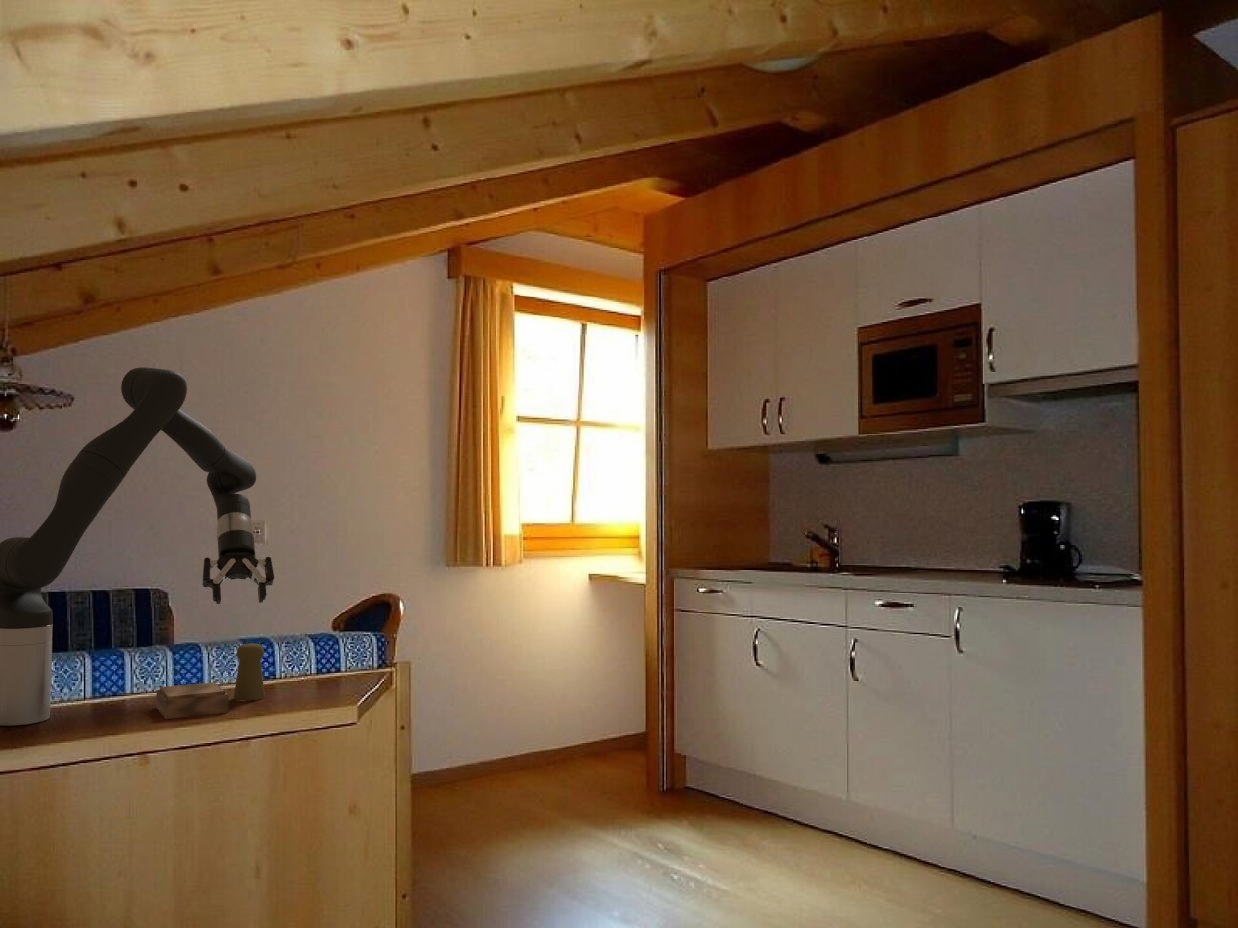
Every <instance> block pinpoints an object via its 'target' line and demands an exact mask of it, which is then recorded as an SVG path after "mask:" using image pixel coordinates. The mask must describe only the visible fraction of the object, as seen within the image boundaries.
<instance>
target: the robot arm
mask: <svg viewBox="0 0 1238 928" xmlns="http://www.w3.org/2000/svg"><path fill="white" fill-rule="evenodd" d="M120 384H121V385H120V390H121V395H122V398H123V400H124V401H125V403H126V404H127V405H128V406H129V407H130V408H131V409H133V411H132V412H131V413H130V414H129V415H128V416H127V417H125V418H124V419H122V421H120V422H119V423H117V424H116V425H114V426H112V427H111V428H109V429H108V430H106V431H104V432H102V433H100V434H99V435H98V436H96V437H95V438H93V439H92V440H90V441H89V442H88V443H86V444H85V445H84V446H83V447H82V449H81V450H80V451H79V452H78V453H77V454H76V456H75V458H74V459H73V460H72V461H71V463H70V464H69V465H68V466H67V468H66V470H65V471H64V473H63V475H62V477H61V480H60V484H59V488H58V492H57V496H56V500H55V503H54V506H53V508H52V510H51V512H50V513H49V514H48V517H46V519H45V520H44V521H43V522H42V523H41V525H40V526H39V528H37V530H36V531H35V532H33V534H32V535H31V536H29V537H24V536H20V537H19V536H16V537H15V536H14V537H9V538H7V539H4V540H2V541H1V542H0V726H6V727H7V726H22V725H31V724H35V723H41V722H44V721H46V720H49V719H50V717H51V698H52V697H51V696H52V694H51V692H52V690H51V688H52V661H53V660H52V659H53V657H52V655H53V627H54V626H53V620H54V619H53V618H54V617H53V616H54V613H53V609H52V608H51V607H50V606H49V605H48V604H47V603H46V602H45V600H44V599H43V596H42V588H45V587H47V586H49V585H50V584H52V583H53V582H54V581H55V580H56V579H57V578H59V576H60V574H61V573H62V572H63V571H64V569H65V567H66V565H67V563H69V560H70V558H71V556H72V554H73V553H74V551H75V549H76V547H77V546H78V544H79V542H80V540H81V538H82V537H83V536H84V534H85V532H86V531H87V529H88V528H89V526H90V525H91V524H92V523H93V521H94V520H95V518H96V517H97V516H98V514H99V512H100V511H101V510H102V508H103V507H104V505H105V504H106V503H107V502H108V500H109V498H111V496H112V495H113V494H114V493H115V491H116V490H117V488H118V487H119V486H120V484H121V483H122V482H123V480H124V479H125V478H126V476H127V475H128V472H129V471H130V470H131V468H132V467H133V465H134V464H135V463H136V461H138V459H139V457H141V455H142V454H143V453H144V451H145V450H146V448H147V447H148V446H149V445H150V443H151V442H152V441H153V439H154V438H155V437H156V436H157V435H158V434H159V432H161V431H162V432H163V433H164V434H166V436H168V437H169V438H170V439H171V440H172V441H173V442H174V443H176V444H177V446H179V448H180V449H182V450H183V451H184V452H185V453H186V455H188V457H189V458H190V459H191V460H192V461H193V462H194V463H195V465H197V466H198V468H199V469H201V470H202V472H206V473H207V476H206V484H207V487H208V489H209V491H210V493H211V495H212V498H213V501H214V504H215V507H216V515H217V527H216V540H217V553H218V558H217V559H211V558H210V557H205V558H204V559H203V565H202V587H203V588H211V590H212V600H213V602H215V604H216V605H220V604H221V601H222V591H221V585H222V584H223V583H224V582H225V581H226V580H227V579H229V580H237V579H240V580H246V579H249V581H250V582H251V583H254V584H255V585H256V586H257V596H258V597H257V598H258V603H259V604H260V603H261V604H262V603H263V601H265V600H266V597H267V595H268V594H267V586H272V585H273V583H274V580H275V573H274V567H273V562H272V558H271V557H270V556H266V557H265V558H262V559H259V558H257V557H256V549H255V548H256V547H255V537H254V536H255V535H254V526H253V523H252V512H251V503H250V501H249V500H250V499H249V498H248V497H246V496H245V495H244V494H239V492H242V491H246V490H248V489H250V488H252V487H253V486H254V485H255V483H256V480H257V472H256V470H255V467H254V466H253V464H251V463H250V462H249V461H248V460H247V459H246V458H244V457H242V456H241V455H239V454H238V453H236V452H234V451H233V450H231V449H229V448H227V447H226V446H225V445H224V444H223V443H222V442H221V440H219V438H218V437H217V436H216V435H215V434H214V433H213V431H211V430H210V429H209V428H207V427H206V426H205V425H204V424H202V423H201V422H200V421H197V420H196V419H194V418H193V417H192V416H190V415H189V414H187V413H185V412H184V411H183V410H181V408H182V406H183V404H184V402H185V400H186V397H187V395H188V387H187V386H188V385H187V381H186V378H185V377H184V376H183V375H182V374H181V373H179V372H177V371H175V370H172V369H171V370H169V369H162V368H155V367H146V366H145V367H134V368H132V369H130V370H129V371H127V373H126V374H124V376H123V378H122V381H121V383H120ZM258 566H260V568H261V569H262V570H264V574H265V577H264V576H263V575H262V574H261V572H260V571H259V570H258V569H257V567H258ZM215 567H216V568H217V569H218V570H219V573H218V574H217V576H215V578H214V579H213V578H211V571H213V570H214V568H215Z"/></svg>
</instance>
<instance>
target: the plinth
mask: <svg viewBox="0 0 1238 928" xmlns="http://www.w3.org/2000/svg"><path fill="white" fill-rule="evenodd" d="M155 694H156V695H155V696H156V698H155V699H156V701H155V702H156V703H155V708H156V709H157V710H159V711H158V712H159V713H160V714H161V715H162V717H163V718H164V719H166V720H168V719H169V720H170V719H177V718H187V717H188V718H189V717H197V716H205V715H206V716H207V715H208V716H209V715H215V714H217V715H218V714H226V713H229V702H230V701H229V696H230V695H229V693H228V692H226V690H225V689H224V688H222V687H221V686H220V685H219V684H217V683H216V682H215V681H213V682H202V683H195V684H194V683H193V684H180V685H171V686H170V685H169V686H160V687H159V689H156V693H155Z"/></svg>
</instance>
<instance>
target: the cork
mask: <svg viewBox="0 0 1238 928" xmlns="http://www.w3.org/2000/svg"><path fill="white" fill-rule="evenodd" d="M264 653H265V650H264V647H263V646H262V644H259V643H252V642H251V643H244V644H240V645H239V646H238V647H237V649H236V657H237V659H238V661H239V662H238V667H237V668H238V669H237V675H236V680H235V688H234V693H233V699H232V700H234V699H235V700H234V701H236V700H244V701H243V702H250V701H249V700H255V701H259V700H258V699H261V700H263V699H265V698H266V696H265V695H266V694H265V686H264V678H263V669H262V661H261V660H262V659H263V657H264ZM245 700H246V701H245Z"/></svg>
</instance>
